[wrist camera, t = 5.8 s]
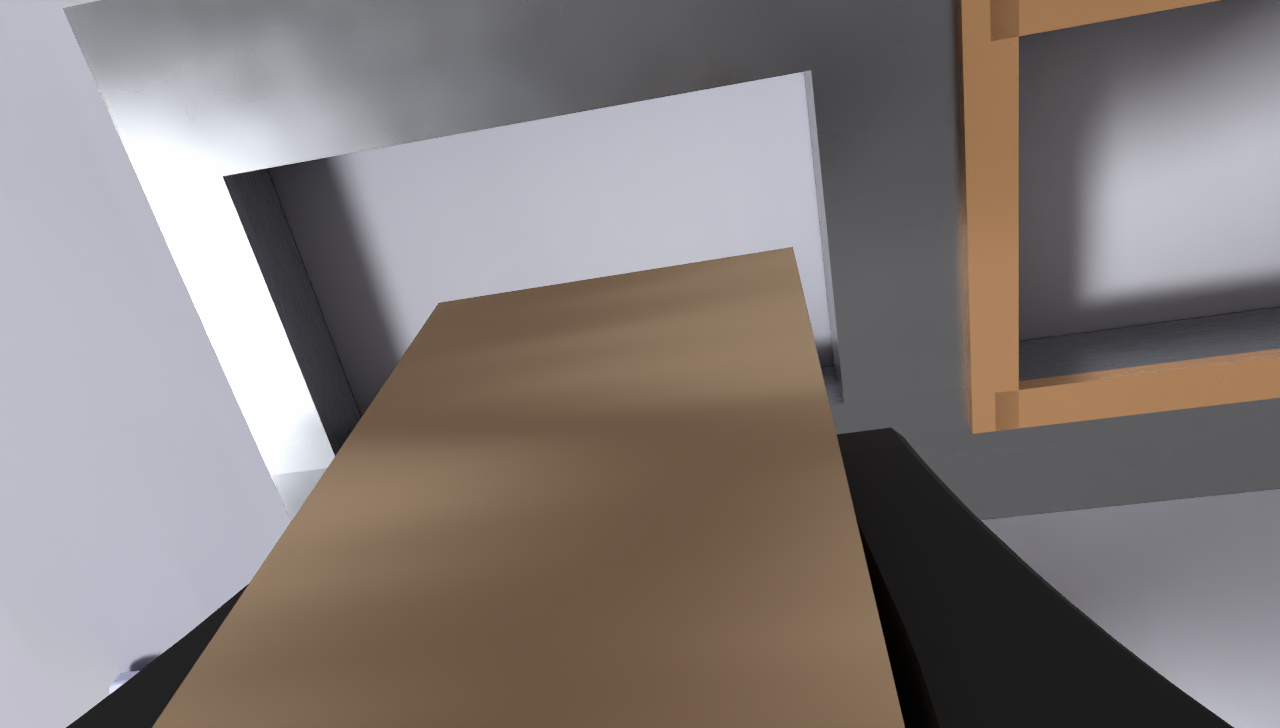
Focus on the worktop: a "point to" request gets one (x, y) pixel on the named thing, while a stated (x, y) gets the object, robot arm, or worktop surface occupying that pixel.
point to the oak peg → (574, 529)
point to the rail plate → (846, 195)
